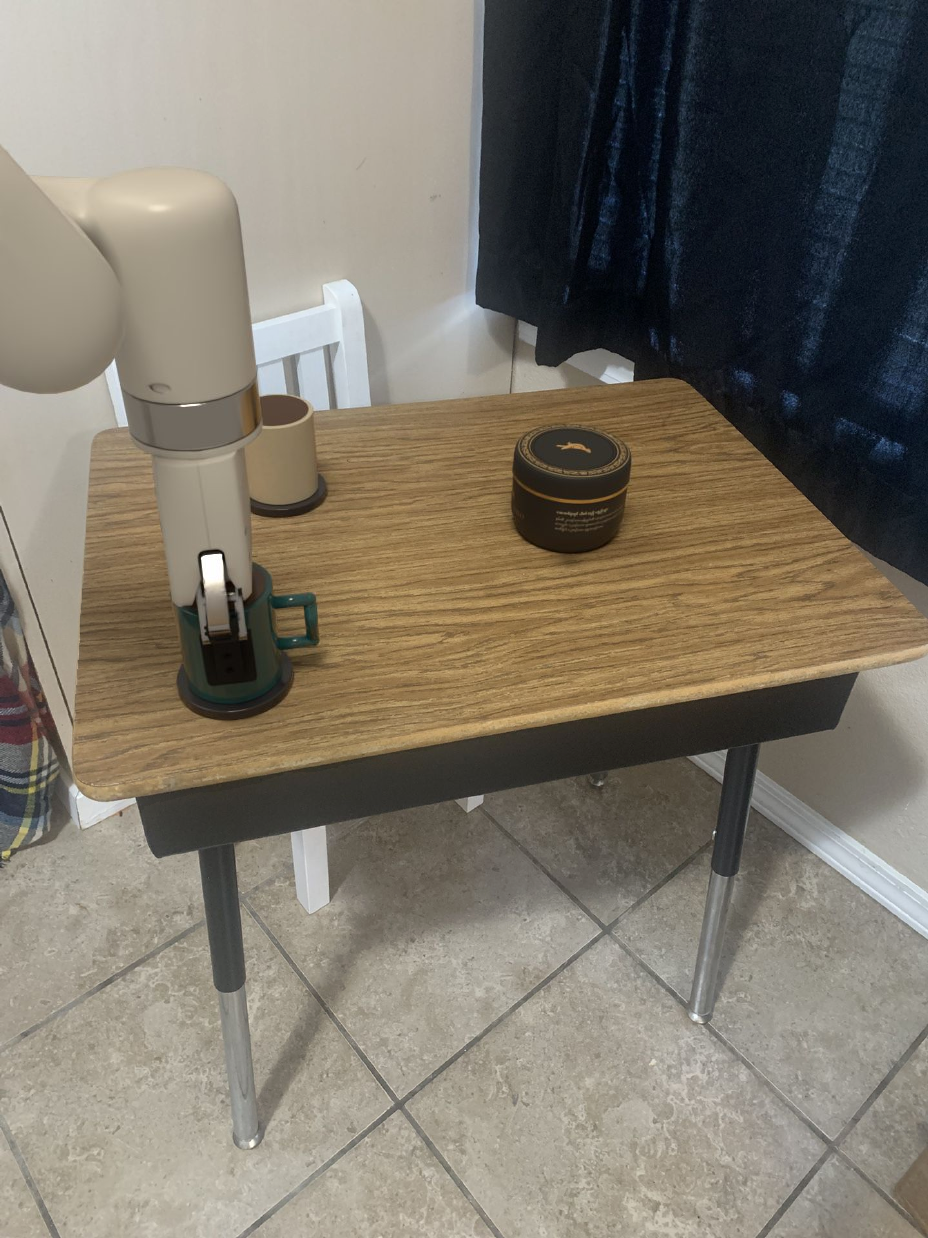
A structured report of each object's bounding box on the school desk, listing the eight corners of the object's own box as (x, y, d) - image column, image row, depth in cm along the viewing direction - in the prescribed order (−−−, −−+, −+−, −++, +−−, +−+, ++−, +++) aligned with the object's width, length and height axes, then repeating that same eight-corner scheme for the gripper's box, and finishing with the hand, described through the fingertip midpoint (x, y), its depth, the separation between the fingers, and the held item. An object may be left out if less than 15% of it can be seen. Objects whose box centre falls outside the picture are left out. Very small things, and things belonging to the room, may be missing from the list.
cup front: (186, 710, 66) (168, 621, 61) (186, 647, 71) (170, 561, 66) (326, 693, 67) (319, 605, 63) (316, 633, 72) (309, 548, 68)
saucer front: (177, 727, 65) (175, 718, 65) (178, 651, 71) (176, 643, 71) (297, 712, 67) (297, 703, 66) (289, 639, 73) (288, 630, 72)
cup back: (322, 501, 87) (316, 424, 82) (246, 508, 86) (236, 430, 81) (312, 451, 94) (306, 377, 89) (242, 456, 93) (233, 382, 88)
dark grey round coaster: (239, 521, 85) (238, 513, 85) (236, 475, 91) (235, 468, 91) (331, 513, 87) (330, 505, 86) (322, 468, 93) (321, 461, 92)
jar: (498, 499, 89) (503, 423, 85) (604, 492, 91) (614, 417, 86) (521, 561, 82) (527, 482, 77) (636, 553, 83) (649, 474, 78)
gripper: (133, 349, 62) (176, 578, 73) (116, 488, 49) (172, 741, 60) (253, 342, 63) (278, 568, 74) (269, 475, 50) (296, 726, 61)
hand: (230, 643), depth 67 cm, fingers closed on cup front, 6 cm apart
